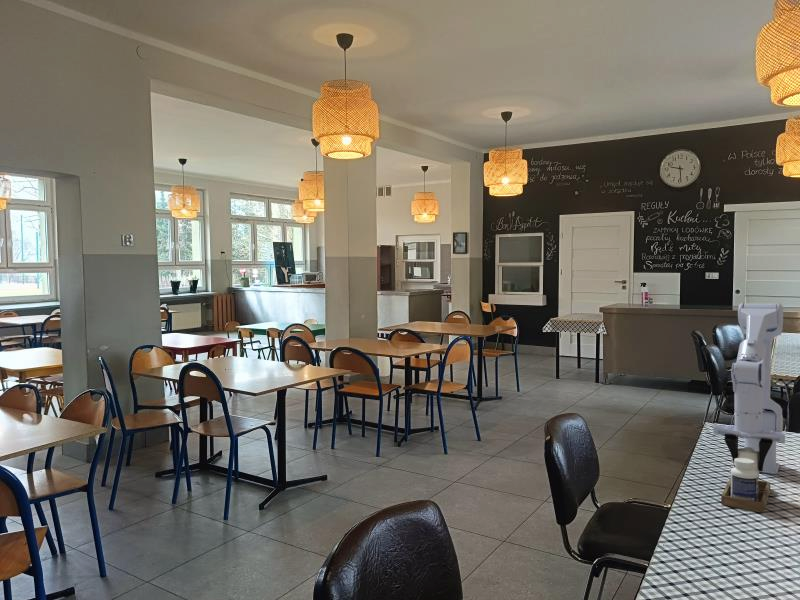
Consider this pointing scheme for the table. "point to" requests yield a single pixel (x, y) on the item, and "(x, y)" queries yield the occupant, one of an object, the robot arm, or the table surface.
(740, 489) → the pill bottle
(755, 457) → the salt shaker
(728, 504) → the wooden tray
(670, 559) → the table surface
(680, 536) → the table surface
